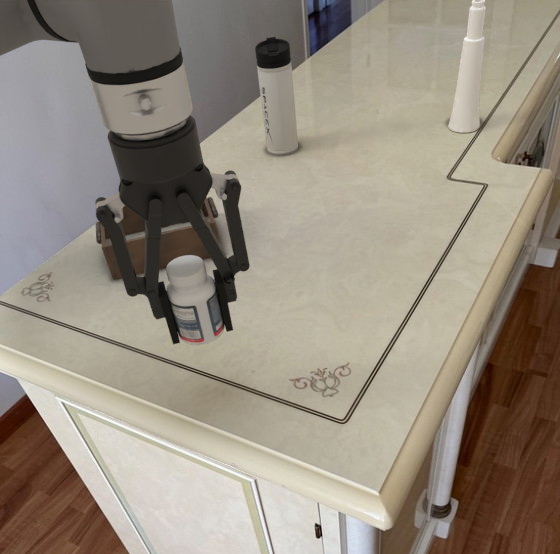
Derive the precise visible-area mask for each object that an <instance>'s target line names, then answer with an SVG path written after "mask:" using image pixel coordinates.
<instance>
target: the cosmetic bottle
mask: <svg viewBox="0 0 560 554" xmlns="http://www.w3.org/2000/svg"><path fill="white" fill-rule="evenodd" d="M485 4H486V0H471V6H469V8H468V18H467V28H466V36H465V37H464V38H463V42H462V48H461V55H460V61H459V67H458V73H457V82H456V86H455V87H456V88H455V93H454V100H453V105H452V109H451V114H450V118H449V120H448V125H447V127H448V129H449V130H450V131H452V132H454V133H459V134H469V133H473V132H476V131H477V130H479V128H480V127H481V123H480V121H481V119H480V100H481V88H482V87H481V84H482V75H483V74H482V73H483V64H484V51H485V36H484V35H483V34H484V26H485V17H486V10H487V7H486V5H485Z"/></svg>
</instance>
